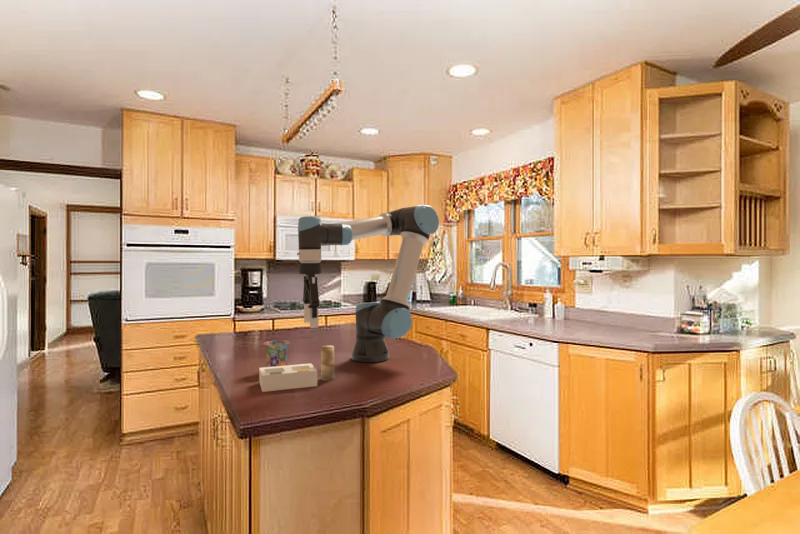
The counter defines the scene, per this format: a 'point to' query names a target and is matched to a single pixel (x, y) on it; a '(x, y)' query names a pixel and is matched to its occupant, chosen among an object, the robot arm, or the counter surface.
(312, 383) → the socket block
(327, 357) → the peg
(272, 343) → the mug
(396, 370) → the counter surface
